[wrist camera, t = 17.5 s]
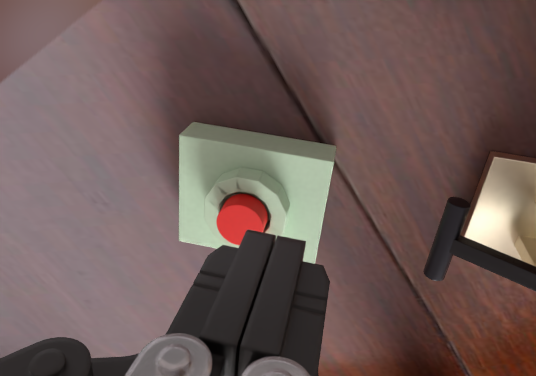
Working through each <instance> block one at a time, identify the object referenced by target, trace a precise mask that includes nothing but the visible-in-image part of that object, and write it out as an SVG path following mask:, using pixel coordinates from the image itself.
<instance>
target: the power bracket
mask: <svg viewBox="0 0 536 376" xmlns="http://www.w3.org/2000/svg"><path fill="white" fill-rule="evenodd" d="M461 235H462V236H464V237H466V238H469V239H471V240H474V241H476V242H478V243H481V244H483V245H486V246H488V247H490V248H493V249H495V250H497V251H500V252H502V253H505V254H507V255H509V256H512V257H514V258H517V259H519V260H521V261H524V262H526V263H529V264H531V265H533V266H536V158H532V157H526V156H519V155H513V154H507V153H501V152H495V151H490V153H489V156H488V159H487V161H486V164H485V167H484V170H483V172H482V175H481V178H480V180H479V183H478V186H477V188H476V191H475V194H474V197H473V199H472V202H471V208H470V210H469V213H468V216H467V218H466V221H465V224H464V227H463V229H462V232H461Z"/></svg>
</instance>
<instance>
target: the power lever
mask: <svg viewBox="0 0 536 376" xmlns="http://www.w3.org/2000/svg"><path fill="white" fill-rule="evenodd" d="M470 208H471V204H470V203H469V202H468V201H466V200H464V199H462V198H458V197H450V198H449V199H448V200H447V203H446V206H445V209H444V212H443V215H442V218H441V221H440V224H439V227H438V230H437V233H436V236H435V239H434V242H433V245H432V247H431V250H430V253H429V256H428V259H427V262H426V265H425V268H424V274H425V275H426V276H427V277H428V278H429V279H431V280H435V281H441V280H443V279H444V278H445V275H446V272H447V270H448V267H449V264H450V261H451V259H452V256H453V255H455V256H457V257H460V258H462V259H464V260H466V261H469V262H471V263H473V264H475V265H478V266H480V267H482V268H484V269H487V270H489V271H491V272H493V273H496V274H498V275H500V276H502V277H505V278H507V279H509V280H511V281H514V282H516V283H518V284H520V285H523V286H525V287H527V288H529V289H532V290H534V291H536V266H533V265H531V264H529V263H526V262H524V261H521V260H519V259H517V258H514V257H512V256H509V255H507V254H505V253H502V252H500V251H497V250H495V249H493V248H490V247H488V246H486V245H483V244H481V243H478V242H476V241H474V240H471V239H469V238H466V237H464V236H462V235H461V232H462V229H463V227H464V224H465V221H466V218H467V216H468V213H469V210H470Z"/></svg>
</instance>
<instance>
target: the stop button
mask: <svg viewBox="0 0 536 376" xmlns="http://www.w3.org/2000/svg"><path fill="white" fill-rule="evenodd" d="M267 219H268V215H267V210H266V208H265V206H264V205H263V203H262V202H261V201H260V200H258V199H257V198H256V197H254V196H251V195H248V194H236V195H233V196H231V197H230V198H228V199H227V200H226V202H225V203H224V205H223V207H222V208H221V210H220V212H219V214H218V216H217V220H216V222H217V228H218V230H219V232H220V234H221V235H222V236H223V237H224V238H225V239H226V240H227V241H229V242H231V243H233V244H236V245H240V243H241V241H242V239H243V237H244V235H245V232H246V231H247V229H249V230H253V231H258V232H263V231H264V228H265V225H266V223H267Z"/></svg>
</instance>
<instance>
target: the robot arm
mask: <svg viewBox="0 0 536 376" xmlns="http://www.w3.org/2000/svg"><path fill="white" fill-rule="evenodd" d="M305 246H306V241H303V240H298V239H293V238H289V237H284V236H279V235H278V236H277V238H276V235H273V234H268V233H263V232H258V231H253V230H249V229H247V231H246V232H245V235H244V237H243V239H242V241H241V243H240V246H239V248H236V247H231V246H227V245H222V246H220V247H219V248H218V249H216V250H215V251H214V252H212V253H211V254H210V255H208V257H207V259H206V260H205V262H204V264H203V266H202V268H201V270H200V273H198V275H197V277H196V279H195V281H194V284H193V286H192V287H191V288H190V290H189V292H188V294H187V296H186V298H185V300H184V301H183V303H182V305H181V307H180V309H179V311H178V313H177V315H176V316H175V318H174V320H173V322H172V324H171V326H170V328H169V330H168V331H167V333H166V334H165V335H163V336H160V337H158V338H156V339H154V340H153V341H151V342H150V343H148V344H147V345H146V346H145V347H144V348H143V349H142V351H141V352H140V353H139V354H136V355H131V356H125V357H109V358H91V356H90V353H89V350H88V349H87V347H86V346H85V345H84V344H83V343H81V342H79V341H78V340H75V339H72V338H66V337H57V338H50V339H46V340H43V341H40V342H37V343H35V344H33V345H30V346H28V347H26V348H23V349H21V350H19V351H16V352H14V353H12V354H10V355H7V356H5V357H3V358H0V376H318V365H319V358H320V351H321V343H322V336H323V328H324V321H325V313H326V306H327V299H328V291H329V284H330V281H329V278H328V276H327V274H326V271H325V269H324V266H323V265H318V264H313V263H308V262H304V261H303V258H304V252H305Z"/></svg>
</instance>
